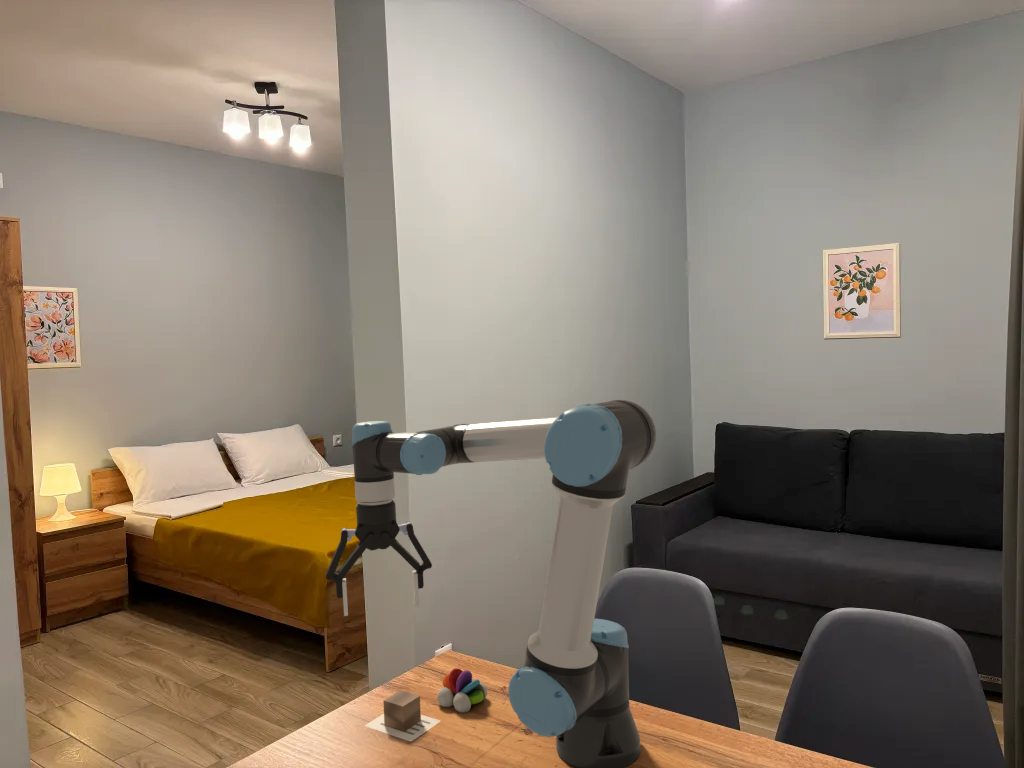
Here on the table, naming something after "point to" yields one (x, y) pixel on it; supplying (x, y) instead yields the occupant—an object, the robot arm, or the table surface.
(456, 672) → the rainbow petal toy
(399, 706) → the walnut block
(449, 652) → the table surface
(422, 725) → the letter
